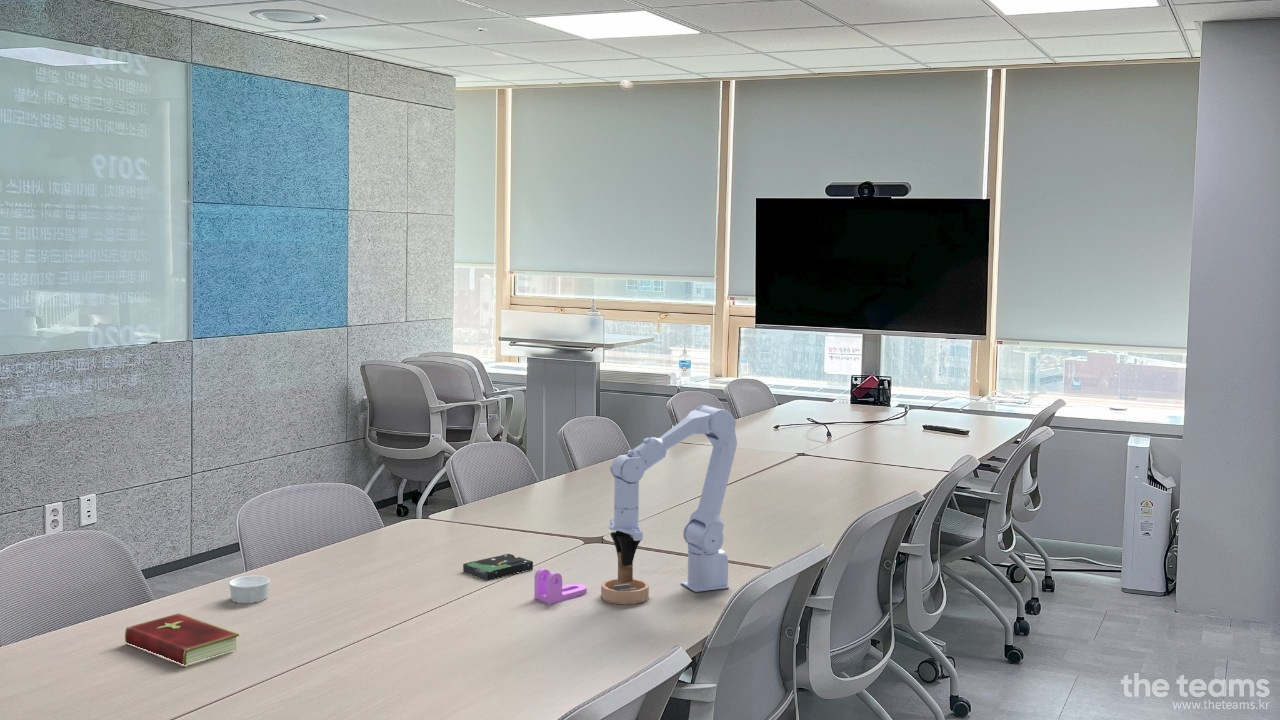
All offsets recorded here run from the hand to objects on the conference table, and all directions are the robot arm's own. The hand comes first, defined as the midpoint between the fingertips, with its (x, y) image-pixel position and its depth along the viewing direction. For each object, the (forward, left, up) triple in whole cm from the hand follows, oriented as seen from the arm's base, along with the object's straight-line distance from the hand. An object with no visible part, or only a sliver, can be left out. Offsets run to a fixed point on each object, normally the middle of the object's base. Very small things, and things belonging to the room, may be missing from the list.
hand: (625, 563), depth 263 cm
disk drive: (+21, -32, -9) cm, 40 cm away
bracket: (+13, -7, -8) cm, 17 cm away
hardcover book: (+97, -2, -9) cm, 97 cm away
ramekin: (+81, -31, -8) cm, 87 cm away
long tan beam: (0, 0, -4) cm, 4 cm away
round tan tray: (0, 0, -8) cm, 8 cm away
